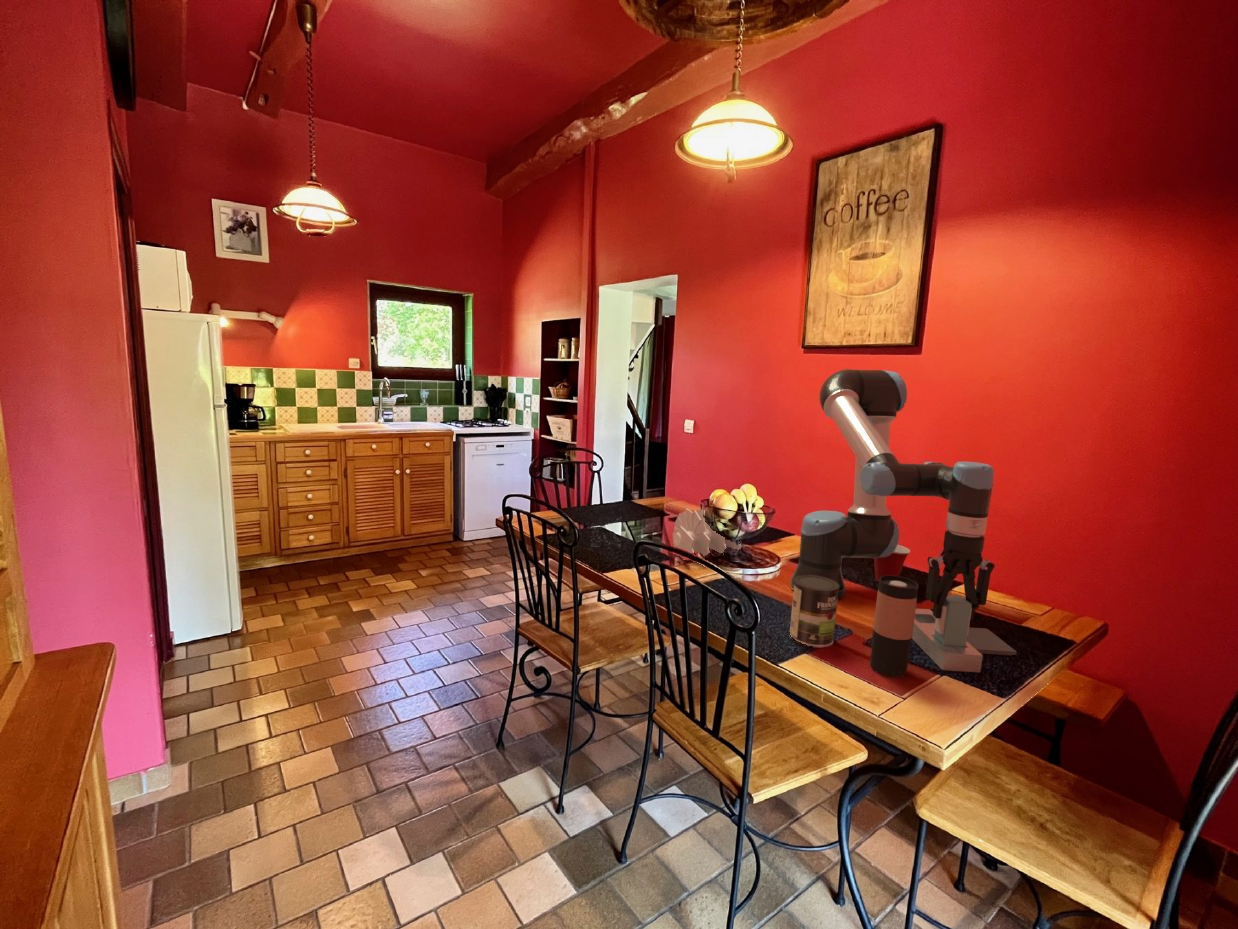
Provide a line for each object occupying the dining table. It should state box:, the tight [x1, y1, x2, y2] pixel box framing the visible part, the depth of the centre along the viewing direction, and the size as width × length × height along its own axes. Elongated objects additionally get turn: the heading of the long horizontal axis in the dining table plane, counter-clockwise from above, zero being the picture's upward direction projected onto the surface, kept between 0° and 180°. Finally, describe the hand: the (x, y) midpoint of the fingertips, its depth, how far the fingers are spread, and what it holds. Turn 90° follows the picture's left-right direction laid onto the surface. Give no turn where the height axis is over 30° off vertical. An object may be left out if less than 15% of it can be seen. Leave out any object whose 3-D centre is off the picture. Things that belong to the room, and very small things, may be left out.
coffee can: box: [789, 575, 840, 649], centre depth 136 cm, size 10×10×14 cm
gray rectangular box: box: [934, 594, 972, 647], centre depth 129 cm, size 5×5×14 cm
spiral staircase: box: [671, 507, 742, 557], centre depth 192 cm, size 18×18×25 cm
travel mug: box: [869, 575, 919, 678], centre depth 122 cm, size 8×8×20 cm
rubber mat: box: [966, 627, 1018, 656], centre depth 138 cm, size 12×12×1 cm
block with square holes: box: [912, 608, 984, 673], centre depth 135 cm, size 8×24×4 cm, turn 177°
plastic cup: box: [873, 544, 911, 583], centre depth 175 cm, size 11×11×12 cm
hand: (950, 631), depth 129 cm, fingers closed on gray rectangular box, 5 cm apart
